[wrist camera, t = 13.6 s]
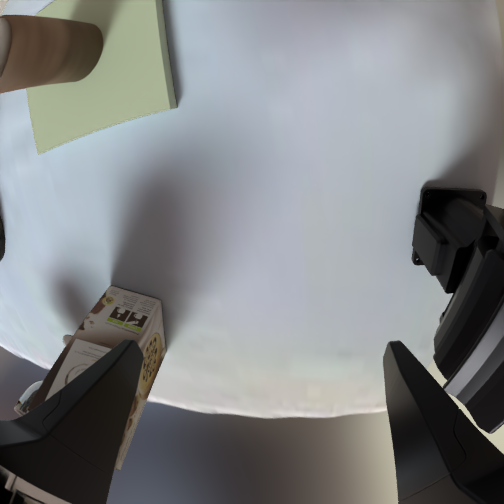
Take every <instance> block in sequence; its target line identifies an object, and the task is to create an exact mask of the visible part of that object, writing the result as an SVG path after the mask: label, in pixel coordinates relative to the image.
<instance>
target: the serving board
mask: <svg viewBox="0 0 504 504" xmlns="http://www.w3.org/2000/svg"><path fill="white" fill-rule="evenodd" d="M35 16H42V17H52V18H60V19H68V20H74V21H80V22H86V23H91V24H94V25H96V26H97V27H98V28H99V29H100V30H101V32H102V36H103V50H102V54H101V56H100V59H99V61H98V63H97V65H96V66H95V68H94V69H93V70H92V72H91V73H90V74H89V75H88V76H86V77H85V78H84V79H82V80H80V81H77V82H68V83H59V84H50V85H43V86H36V87H30V88H26V90H27V98H28V105H29V112H30V118H31V123H32V129H33V134H34V139H35V143H36V148H37V152H38V155H39V154H42V153H44V152H47V151H49V150H51V149H53V148H56V147H58V146H60V145H63V144H65V143H67V142H70V141H72V140H75V139H77V138H80V137H82V136H85V135H88V134H90V133H93V132H96V131H99V130H102V129H104V128H107V127H110V126H113V125H116V124H120V123H123V122H126V121H129V120H133V119H136V118H139V117H143V116H147V115H150V114H154V113H158V112H162V111H166V110H170V109H174V108H177V105H176V99H175V93H174V86H173V80H172V73H171V67H170V60H169V53H168V45H167V38H166V30H165V22H164V13H163V4H162V0H55V1H54V2H52V3H51V4H49V5H48V6H47V7H45V8H44V9H43V10H42V11H40V12H39V13H38V14H36V15H35Z"/></svg>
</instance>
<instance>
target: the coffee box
mask: <svg viewBox="0 0 504 504" xmlns="http://www.w3.org/2000/svg"><path fill="white" fill-rule="evenodd" d="M125 339H133V340H135V341H136V342H137V343H138V345H139V347H140V349H141V350H142V352H143V355H144V360H143V364H142V369H141V373H140V378H139V383H138V388H137V392H136V395H135V399H134V402H133V405H132V408H131V411H130V415H129V418H128V421H127V425H126V428H125V431H124V435H123V438H122V442H121V445H120V449H119V453H118V456H117V460H116V464H115V468H114V469H116V470H119V471H120V469H121V466H122V463H123V461H124V458H125V455H126V453H127V450H128V447H129V444H130V442H131V439H132V437H133V434H134V431H135V429H136V426H137V424H138V421H139V418H140V416H141V413H142V410H143V408H144V406H145V403H146V401H147V398H148V395H149V393H150V390H151V388H152V385H153V383H154V380H155V378H156V376H157V373H158V371H159V368H160V366H161V364H162V361H163V359H164V357H165V354H166V346H165V337H164V328H163V318H162V306H161V301H160V300H158V299H155V298H151V297H148V296H144V295H141V294H137V293H134V292H131V291H127V290H124V289H121V288H117V287H114V286H110V287H109V288H108V289H107V290H106V292H105V293H104V294H103V296H102V297H101V298H100V300H99V301H98V302H97V304H96V305H95V306H94V308H93V309H92V310H91V312H90V313H89V314H88V316H87V317H86V318H85V320H84V321H83V323H82V324H81V325H80V327H79V328H78V330H77V331H76V332H75V334H74V335H73V337H72V338H71V340H70V341H69V343H68V344H67V345H66V347H65V348H64V350H63V351H62V353H61V354H60V356H59V357H58V359H57V360H56V362H55V363H54V365H53V367H52V368H51V370H50V371H49V373H48V375H47V376H46V378H45V379H44V381H43V382H42V384H41V386H40V387H39V389H38V391H37V392H36V394H35V396H34V398H33V399H32V401H31V403H30V405H29V406H28V407H27V408H26V410H27V411H28V412H29V411H31V410H32V409H34V408H35V407H37V406H38V405H40V404H41V403H43V402H44V401H46V400H47V399H48V398H50V397H51V396H52V395H54V394H55V393H56V392H58V391H59V390H60V389H62V388H63V387H64V386H65V385H67V384H68V383H69V382H70V381H72V380H73V379H74V378H76V377H77V376H78V375H79V374H81V373H82V372H83V371H84V370H86V369H87V368H88V367H90V366H91V365H92V364H93V363H95V362H96V361H97V360H99V359H100V358H101V357H102V356H104V355H105V354H106V353H108V352H109V351H110V350H111V349H113V348H114V347H115V346H117V345H118V344H119V343H120V342H122V341H123V340H125Z"/></svg>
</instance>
